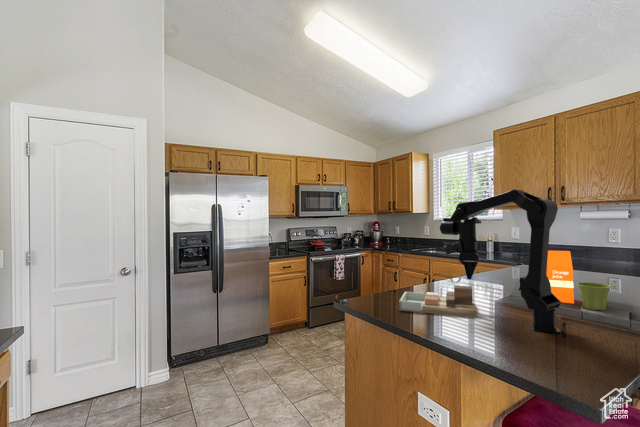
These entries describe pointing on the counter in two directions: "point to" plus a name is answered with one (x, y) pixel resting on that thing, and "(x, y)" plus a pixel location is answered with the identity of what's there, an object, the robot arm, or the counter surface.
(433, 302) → the terracotta tile
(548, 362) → the counter surface
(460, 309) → the maple board
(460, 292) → the brown stepped block
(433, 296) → the cream tile
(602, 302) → the plant pot
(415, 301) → the tray
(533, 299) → the robot arm
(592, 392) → the counter surface
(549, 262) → the orange juice
